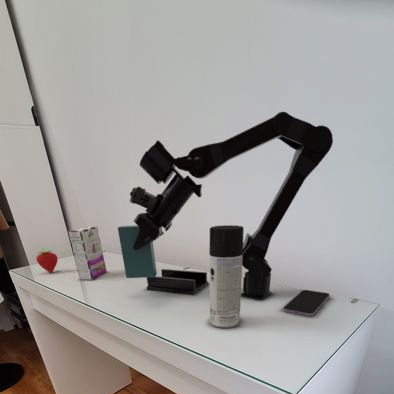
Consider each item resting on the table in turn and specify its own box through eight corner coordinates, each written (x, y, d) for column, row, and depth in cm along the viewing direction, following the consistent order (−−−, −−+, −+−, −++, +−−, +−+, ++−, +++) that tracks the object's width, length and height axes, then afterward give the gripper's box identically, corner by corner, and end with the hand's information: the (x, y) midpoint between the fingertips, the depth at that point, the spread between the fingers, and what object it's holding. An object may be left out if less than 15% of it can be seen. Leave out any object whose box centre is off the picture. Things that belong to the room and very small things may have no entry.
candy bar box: (95, 272, 111) (85, 226, 103) (107, 272, 110) (98, 226, 102) (79, 280, 101) (67, 230, 93) (92, 280, 100) (80, 230, 92)
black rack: (208, 284, 90) (208, 271, 88) (193, 295, 82) (192, 281, 80) (165, 280, 97) (163, 268, 95) (146, 289, 88) (145, 277, 86)
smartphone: (281, 308, 68) (302, 289, 78) (281, 312, 69) (302, 293, 79) (312, 314, 64) (330, 293, 74) (312, 318, 65) (330, 297, 75)
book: (154, 277, 78) (148, 226, 72) (126, 278, 79) (117, 227, 72) (156, 274, 81) (150, 224, 74) (129, 275, 81) (121, 226, 75)
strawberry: (63, 272, 113) (56, 245, 108) (43, 276, 109) (35, 248, 104) (58, 269, 117) (51, 244, 112) (38, 273, 113) (30, 247, 108)
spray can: (221, 314, 69) (221, 224, 59) (245, 320, 65) (250, 225, 55) (204, 324, 64) (201, 228, 54) (229, 331, 60) (231, 229, 50)
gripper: (155, 174, 75) (122, 222, 82) (136, 171, 59) (97, 230, 66) (187, 206, 78) (152, 249, 85) (177, 211, 62) (135, 264, 69)
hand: (136, 248), depth 76 cm, fingers closed on book, 3 cm apart
